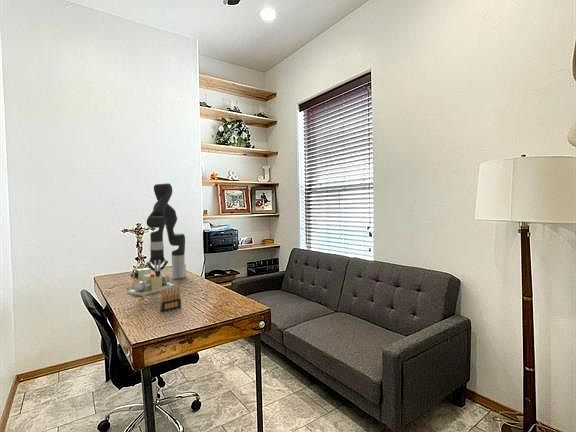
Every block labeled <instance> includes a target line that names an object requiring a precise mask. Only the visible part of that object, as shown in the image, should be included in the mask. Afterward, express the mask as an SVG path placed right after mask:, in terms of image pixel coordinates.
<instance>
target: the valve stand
mask: <svg viewBox="0 0 576 432" xmlns="http://www.w3.org/2000/svg"><path fill="white" fill-rule="evenodd" d="M170 281H171V277H170V276H169V275H167V274H166V275H163V274H161V273H160V276H159V277H157V276H155V277H152V278H150V274H148V275H144V276H143V281H137V282H135V283H133V289H132V288H131V289H129V290H127V292H126V293H127V294H129V295H135V296H140V297H145V296H147V295H150V294H151V295H152V294H156V293H157V292H161V290H162V289H163V291H164V290H165V288H166V290H168V287H169V289H171V287H173V288H175V286H176V287H177V284H176V283H171V282H170Z"/></svg>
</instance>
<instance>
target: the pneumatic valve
mask: <svg viewBox="0 0 576 432" xmlns="http://www.w3.org/2000/svg"><path fill="white" fill-rule="evenodd" d="M150 270H152V269H151V268H150V267H146V268H145V267H144V266H143V267H142V268H135V269H134V271H132V277H133V278H134V279H135V280H139V281H143V276H144V275H148V274H150ZM139 281H138V282H139Z"/></svg>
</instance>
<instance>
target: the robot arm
mask: <svg viewBox="0 0 576 432" xmlns="http://www.w3.org/2000/svg"><path fill="white" fill-rule="evenodd" d="M153 192H154V195H155V198H156V200H157V201H156V202H155V203H154V205H153V209H152V212H151V213H150V214H149V216H148V217H147V219H146V226H147V227H148V228H151V229H157V228H158V230H155V231H151V233H150V244H149V245H150V247H149V249H150V259H149V261H147V262H146V263H145V264H146V265H147V267H148V268H150V269H152V270H154V271H155V276H157V277H159V276H160V274H161V271H162V270H164V268H165V267H166V266H167V265H168V263H169V261H168V260H167V259H165V251H164V247H165V245H164V236H163V235H164V229H165V228H166V233H167V237H168V238H167V239H168V242H169V245H171V246H173V247H175V246H176V247H177V246H178V248H177V249H174V250H172V251H171V278H172V279H174V280H175V279H177V280H178V279H184V278H185V277H187V275H186V274H187V265H186V263H185V262H186V261H185V259H186V257H185V252H186V237H185V233H175V232H174V228H175V226H176V223H177V222H178V216H177V213H176V210H175V209H174V207H173V206H171V205H170V204H169V201H170V199H171V197H172V194H173V186H172V185H171V183H167V182H163V183H155V184H154V185H153ZM152 265H153V266H154V267H153V266H152ZM161 265H162V266H161Z"/></svg>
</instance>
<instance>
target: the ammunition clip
mask: <svg viewBox="0 0 576 432" xmlns="http://www.w3.org/2000/svg"><path fill="white" fill-rule="evenodd" d="M180 289H181V288H180V285H178V286H177V285H176V286H175V287H171V288H169V287H168V289H166V288H165V290H163V289H162V290H161V291H160V303H159V305H160V306H159V312H160V313H166V312H169V310H170V311H173V310H179V309H182V300H181V290H180ZM165 311H166V312H165Z"/></svg>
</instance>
